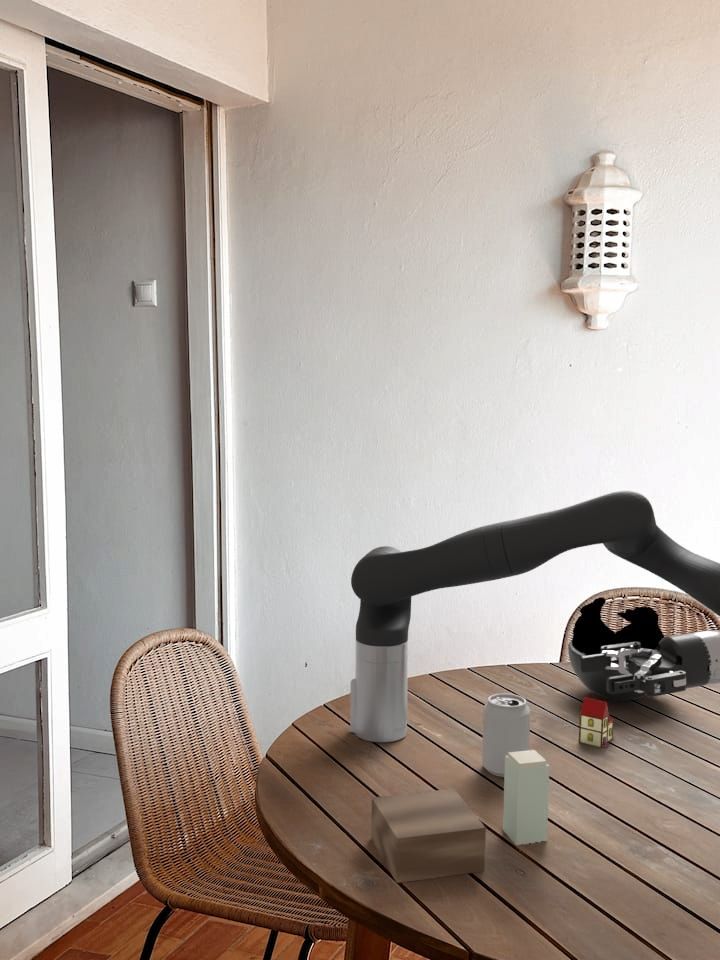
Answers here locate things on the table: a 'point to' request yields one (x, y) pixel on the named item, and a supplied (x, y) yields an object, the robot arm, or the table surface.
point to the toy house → (595, 723)
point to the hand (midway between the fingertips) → (593, 675)
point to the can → (504, 730)
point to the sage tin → (526, 797)
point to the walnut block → (427, 835)
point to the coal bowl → (610, 643)
